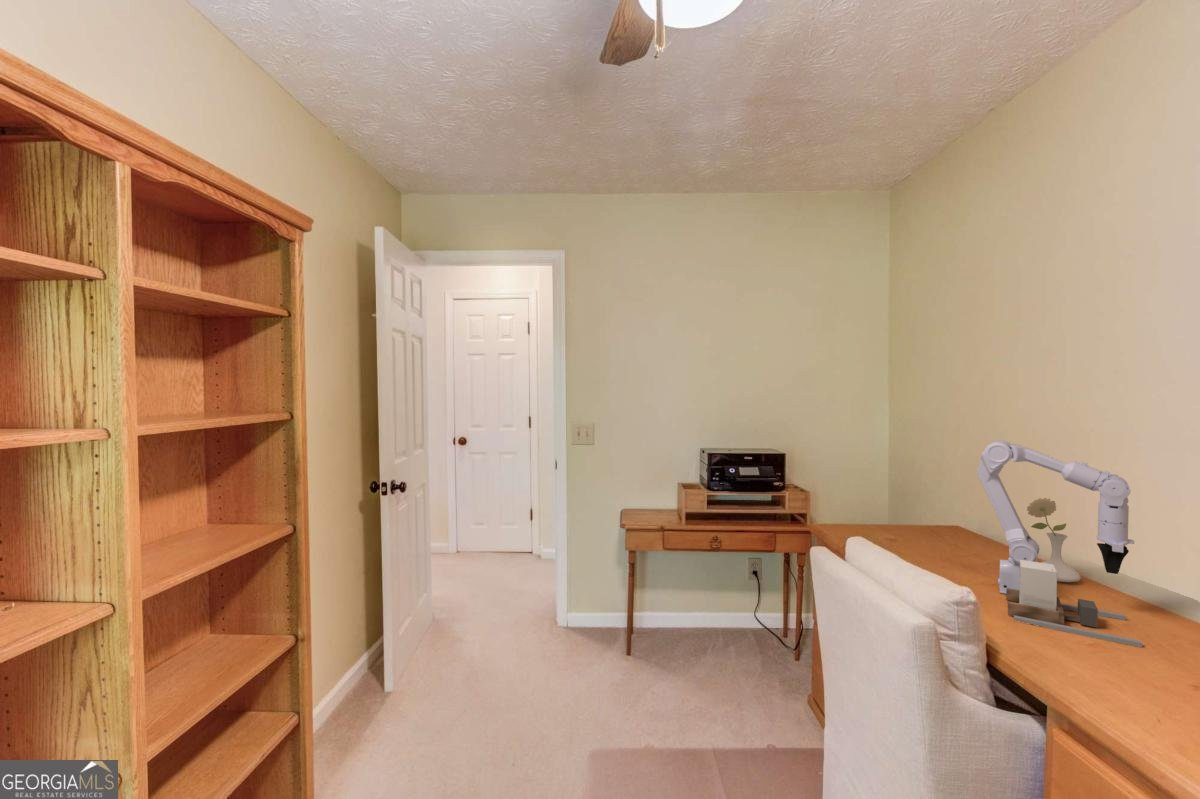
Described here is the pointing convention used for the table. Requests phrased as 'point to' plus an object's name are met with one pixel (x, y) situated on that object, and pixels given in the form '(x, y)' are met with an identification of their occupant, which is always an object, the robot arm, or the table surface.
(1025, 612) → the bench vise
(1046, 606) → the supplement box
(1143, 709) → the table surface
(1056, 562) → the flower in vase
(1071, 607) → the guide rails
